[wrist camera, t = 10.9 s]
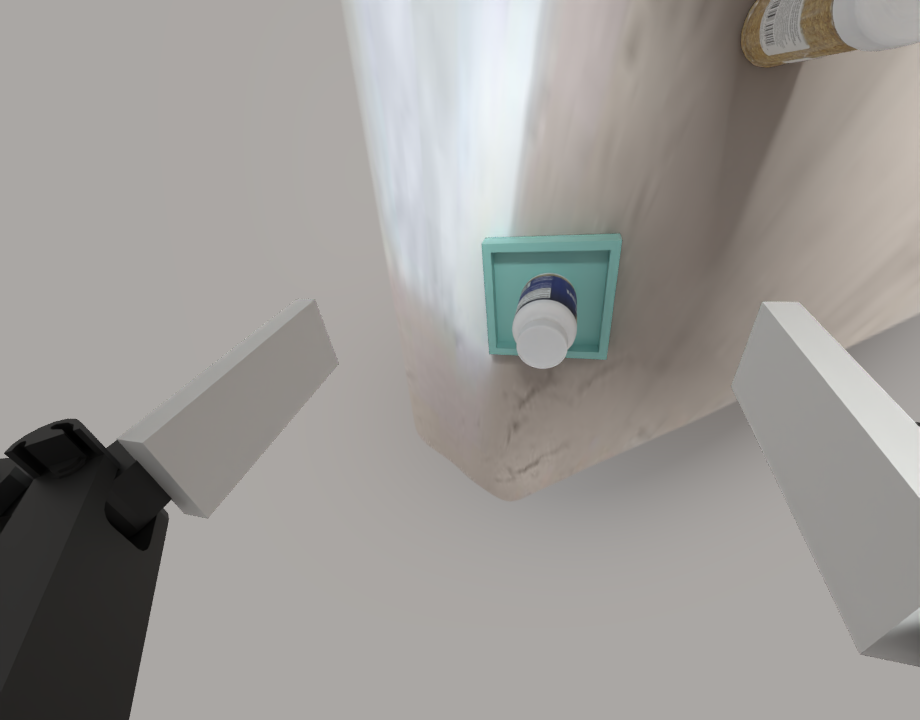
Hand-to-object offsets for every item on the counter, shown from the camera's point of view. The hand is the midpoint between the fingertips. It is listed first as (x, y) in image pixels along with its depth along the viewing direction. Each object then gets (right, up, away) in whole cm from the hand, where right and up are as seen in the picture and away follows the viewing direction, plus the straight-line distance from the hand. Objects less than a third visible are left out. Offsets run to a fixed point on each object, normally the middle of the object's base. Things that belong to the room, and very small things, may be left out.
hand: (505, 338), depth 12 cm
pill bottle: (+7, +6, +26) cm, 27 cm away
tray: (+7, +6, +26) cm, 28 cm away
